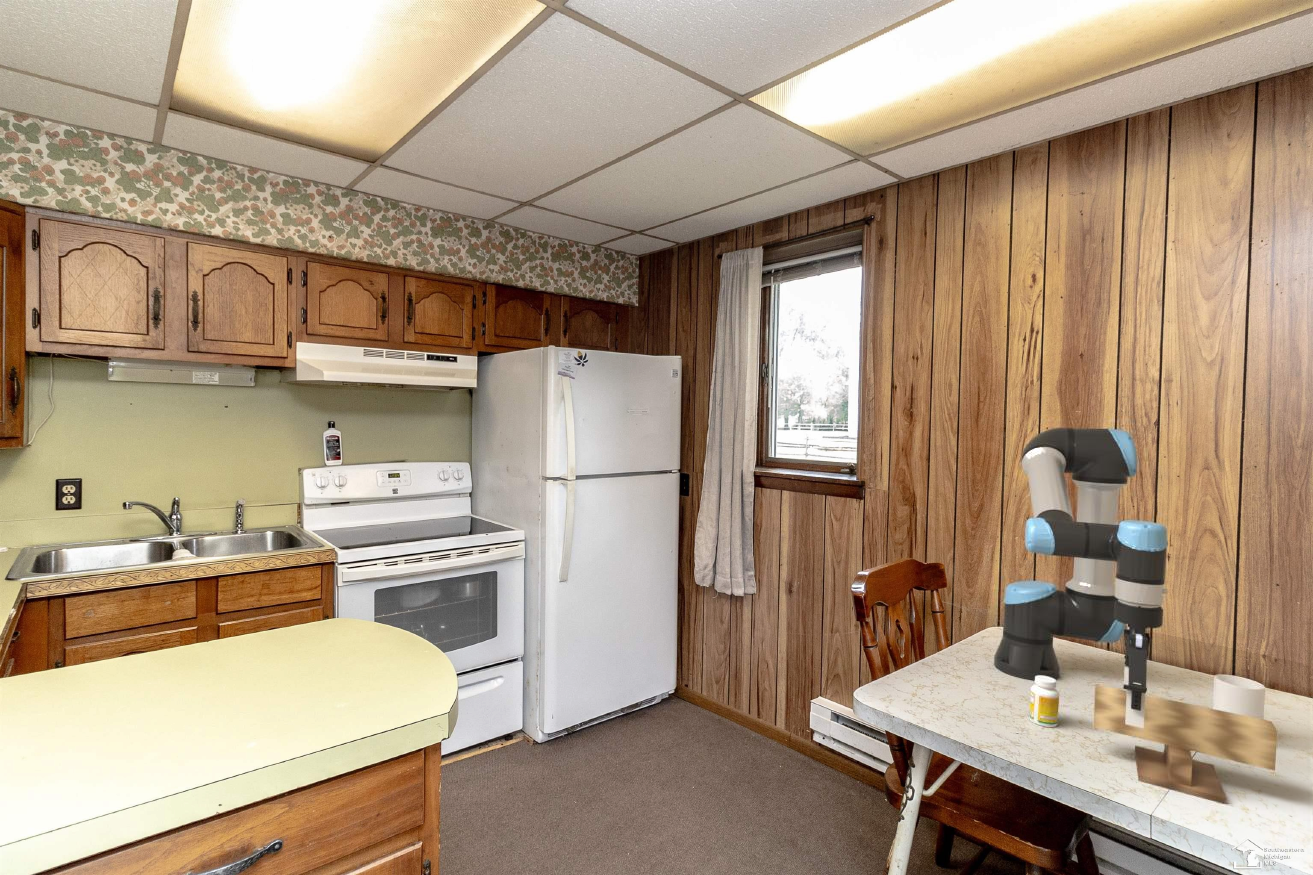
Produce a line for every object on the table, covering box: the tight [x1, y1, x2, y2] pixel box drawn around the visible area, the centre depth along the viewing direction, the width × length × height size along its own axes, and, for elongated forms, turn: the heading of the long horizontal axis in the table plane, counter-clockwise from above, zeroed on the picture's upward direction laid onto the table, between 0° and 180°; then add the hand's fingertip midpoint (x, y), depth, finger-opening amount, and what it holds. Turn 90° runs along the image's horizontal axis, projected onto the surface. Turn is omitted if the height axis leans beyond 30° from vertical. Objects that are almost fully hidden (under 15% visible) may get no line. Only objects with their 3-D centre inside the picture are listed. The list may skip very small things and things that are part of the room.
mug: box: [1211, 674, 1266, 720], centre depth 140 cm, size 12×8×12 cm
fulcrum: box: [1134, 744, 1226, 805], centre depth 122 cm, size 12×14×6 cm
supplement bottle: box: [1028, 675, 1060, 728], centre depth 142 cm, size 5×5×10 cm
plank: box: [1093, 683, 1278, 771], centre depth 122 cm, size 26×4×7 cm, turn 56°
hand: (1132, 713), depth 126 cm, fingers open, 13 cm apart
